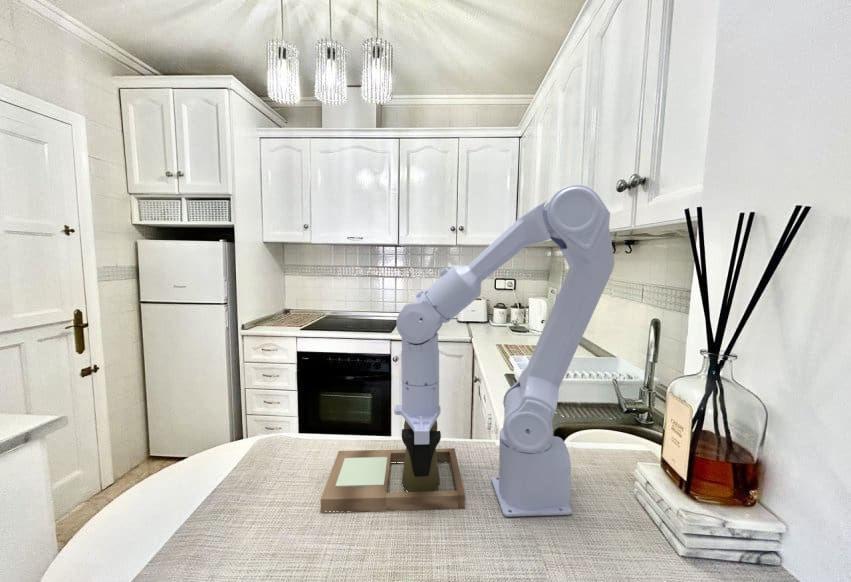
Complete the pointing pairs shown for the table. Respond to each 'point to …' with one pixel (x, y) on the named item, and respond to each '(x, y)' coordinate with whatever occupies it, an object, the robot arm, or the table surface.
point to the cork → (420, 483)
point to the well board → (384, 484)
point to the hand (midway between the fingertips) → (420, 464)
